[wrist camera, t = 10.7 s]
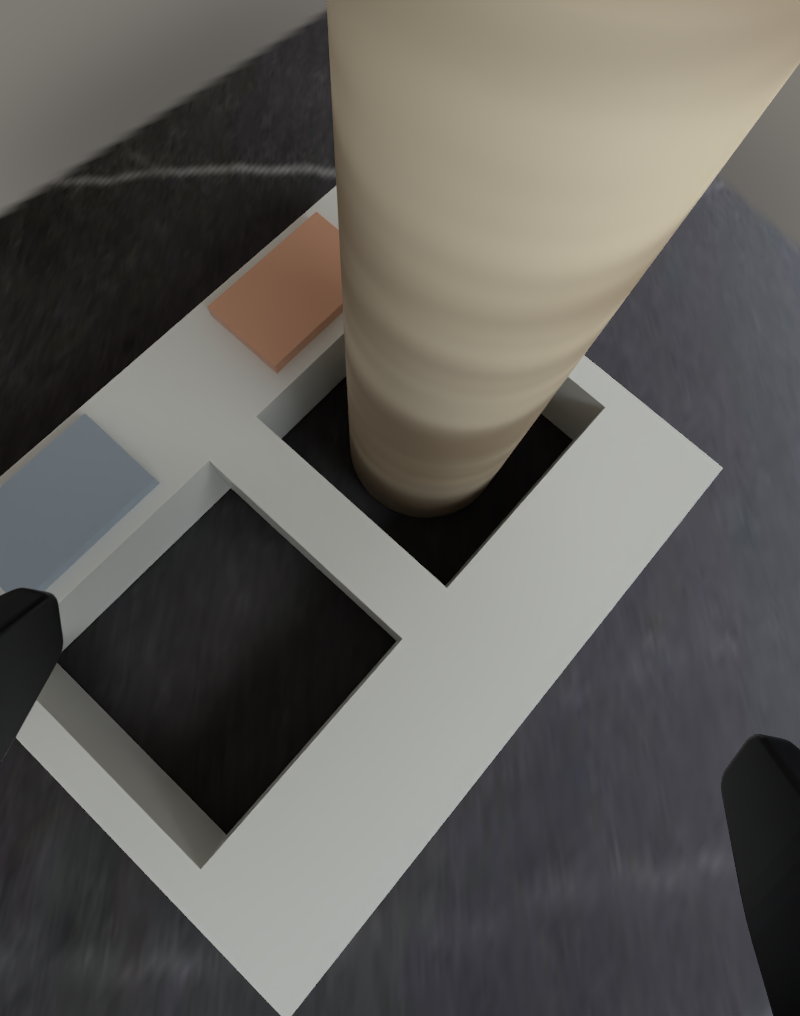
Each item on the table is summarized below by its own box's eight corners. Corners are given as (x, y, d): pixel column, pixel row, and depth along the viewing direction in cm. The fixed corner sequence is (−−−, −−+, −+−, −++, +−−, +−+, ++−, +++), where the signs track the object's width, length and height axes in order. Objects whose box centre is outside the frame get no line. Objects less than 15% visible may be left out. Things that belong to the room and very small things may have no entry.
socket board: (299, 960, 15) (283, 1033, 12) (-54, 597, 16) (-143, 585, 13) (674, 492, 18) (732, 462, 15) (355, 229, 19) (354, 158, 17)
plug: (488, 529, 17) (936, 81, 4) (337, 504, 17) (253, -49, 4) (505, 391, 18) (903, -341, 5) (364, 367, 18) (371, -450, 5)
